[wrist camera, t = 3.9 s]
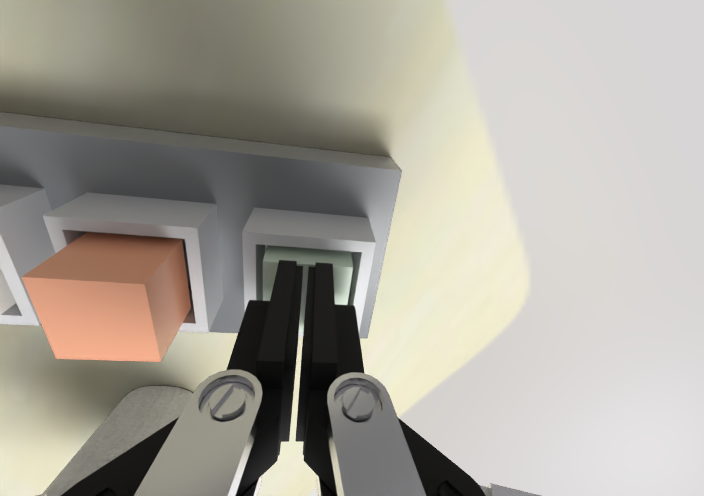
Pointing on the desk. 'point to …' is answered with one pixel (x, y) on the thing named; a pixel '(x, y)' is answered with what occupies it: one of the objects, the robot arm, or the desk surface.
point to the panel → (189, 207)
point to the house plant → (123, 431)
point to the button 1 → (5, 294)
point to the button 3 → (306, 259)
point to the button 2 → (111, 297)
